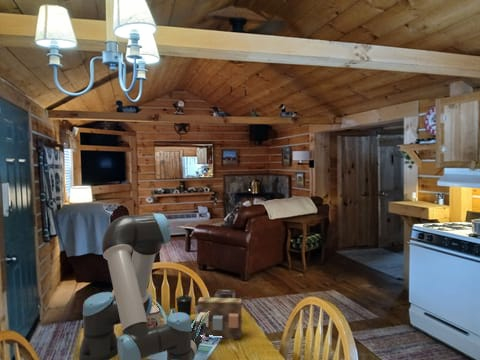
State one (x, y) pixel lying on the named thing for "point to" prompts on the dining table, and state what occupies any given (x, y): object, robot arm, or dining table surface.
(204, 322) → the ivory button
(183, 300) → the drinking cup
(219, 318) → the slate button
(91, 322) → the robot arm
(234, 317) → the terracotta button
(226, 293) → the coffee box
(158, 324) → the teacup with lid
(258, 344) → the dining table surface
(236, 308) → the button console
